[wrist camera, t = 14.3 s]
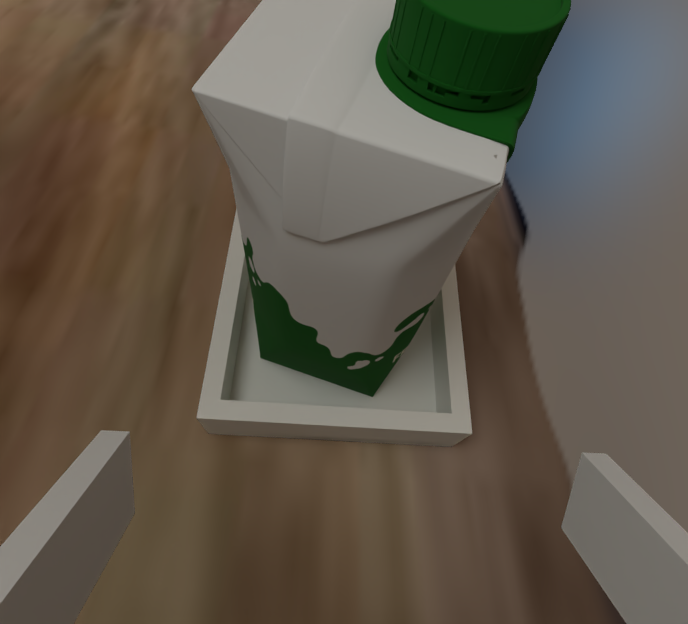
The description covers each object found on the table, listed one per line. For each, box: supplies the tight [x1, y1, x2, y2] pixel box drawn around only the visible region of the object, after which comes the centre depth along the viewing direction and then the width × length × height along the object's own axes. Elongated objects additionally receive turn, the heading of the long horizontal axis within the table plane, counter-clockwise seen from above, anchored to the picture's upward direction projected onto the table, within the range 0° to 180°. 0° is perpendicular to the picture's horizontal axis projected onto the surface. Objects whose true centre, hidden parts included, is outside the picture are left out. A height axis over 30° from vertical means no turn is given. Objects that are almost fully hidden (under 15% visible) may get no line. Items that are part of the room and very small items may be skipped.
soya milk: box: [192, 0, 571, 397], centre depth 19 cm, size 9×9×20 cm
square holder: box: [197, 208, 472, 447], centre depth 27 cm, size 14×14×4 cm
